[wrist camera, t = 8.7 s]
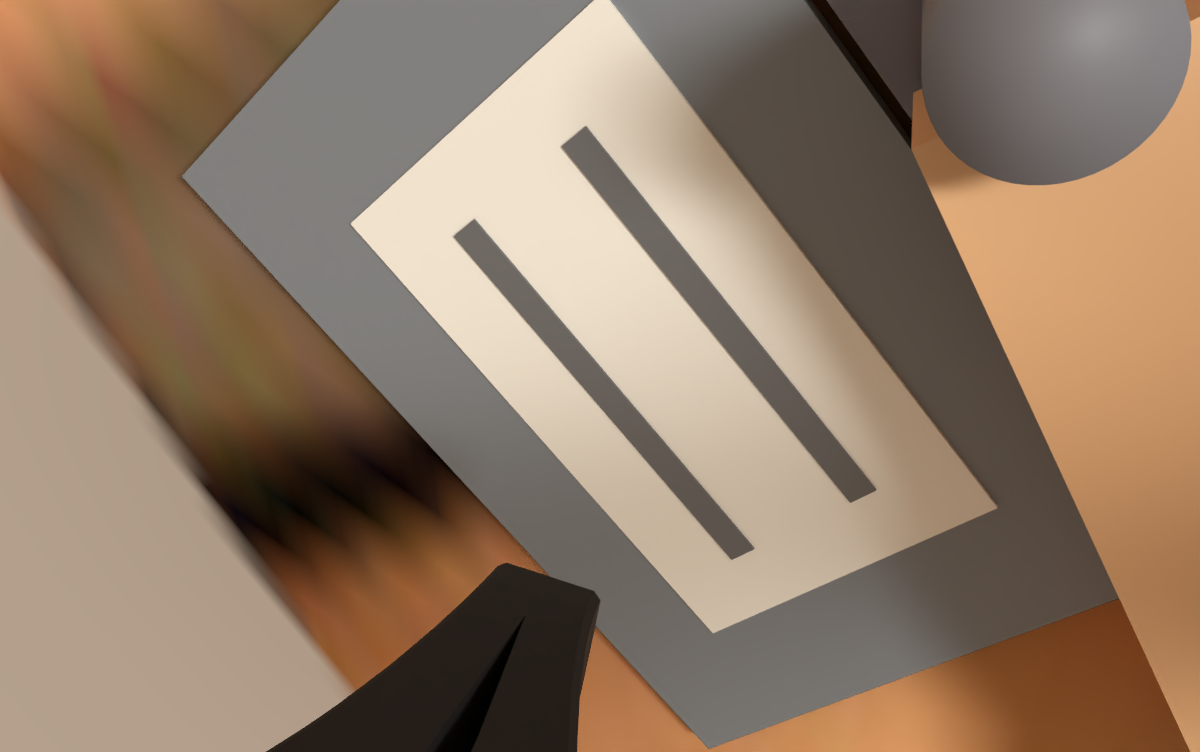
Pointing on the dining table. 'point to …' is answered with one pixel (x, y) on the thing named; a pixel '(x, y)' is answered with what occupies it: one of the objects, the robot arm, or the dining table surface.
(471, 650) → the robot arm
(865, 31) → the arm mount
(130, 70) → the dining table surface
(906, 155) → the label plate
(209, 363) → the dining table surface
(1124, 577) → the tan wooden bar
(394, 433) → the dining table surface
